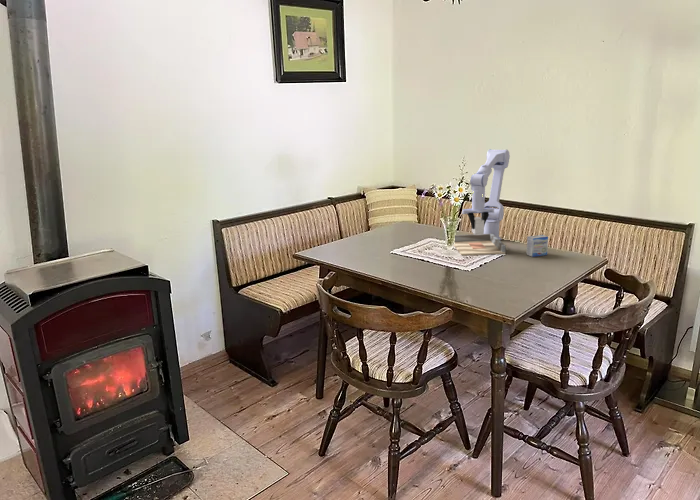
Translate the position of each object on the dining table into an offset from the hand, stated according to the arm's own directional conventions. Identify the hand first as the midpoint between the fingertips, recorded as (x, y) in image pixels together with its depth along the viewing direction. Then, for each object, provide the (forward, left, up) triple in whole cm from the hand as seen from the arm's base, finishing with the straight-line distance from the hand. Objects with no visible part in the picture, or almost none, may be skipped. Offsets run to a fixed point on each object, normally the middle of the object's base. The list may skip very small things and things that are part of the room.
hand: (477, 228), depth 255 cm
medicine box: (+16, +23, -10) cm, 30 cm away
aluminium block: (0, 0, -2) cm, 2 cm away
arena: (+1, 0, -9) cm, 9 cm away
